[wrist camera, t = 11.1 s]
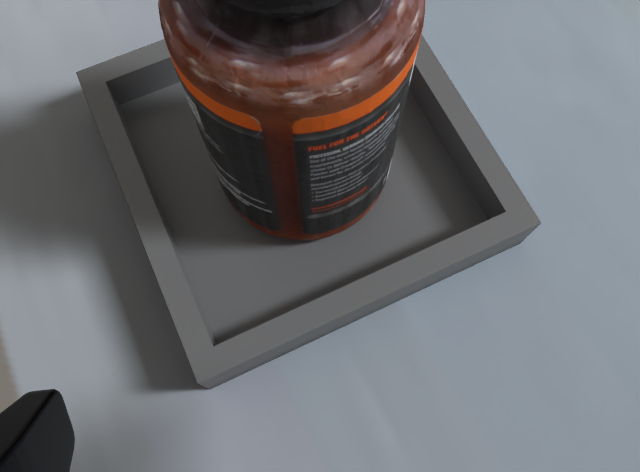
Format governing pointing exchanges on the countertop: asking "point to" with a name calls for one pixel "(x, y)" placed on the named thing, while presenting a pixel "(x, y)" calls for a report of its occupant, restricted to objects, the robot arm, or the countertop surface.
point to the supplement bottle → (296, 102)
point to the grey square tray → (296, 255)
